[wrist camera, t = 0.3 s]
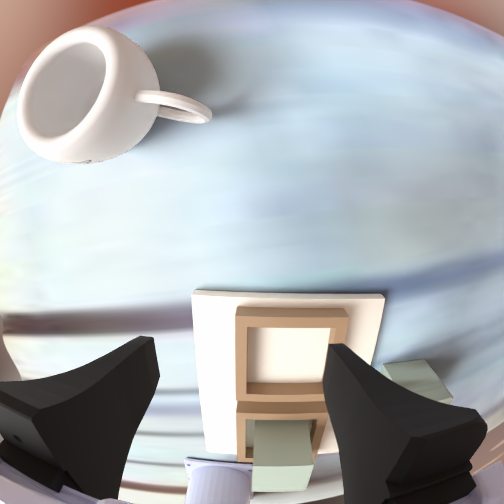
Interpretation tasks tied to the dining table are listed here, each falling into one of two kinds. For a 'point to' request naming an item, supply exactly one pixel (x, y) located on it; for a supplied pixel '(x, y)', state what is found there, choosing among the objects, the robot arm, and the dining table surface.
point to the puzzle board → (274, 375)
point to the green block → (418, 379)
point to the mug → (95, 98)
